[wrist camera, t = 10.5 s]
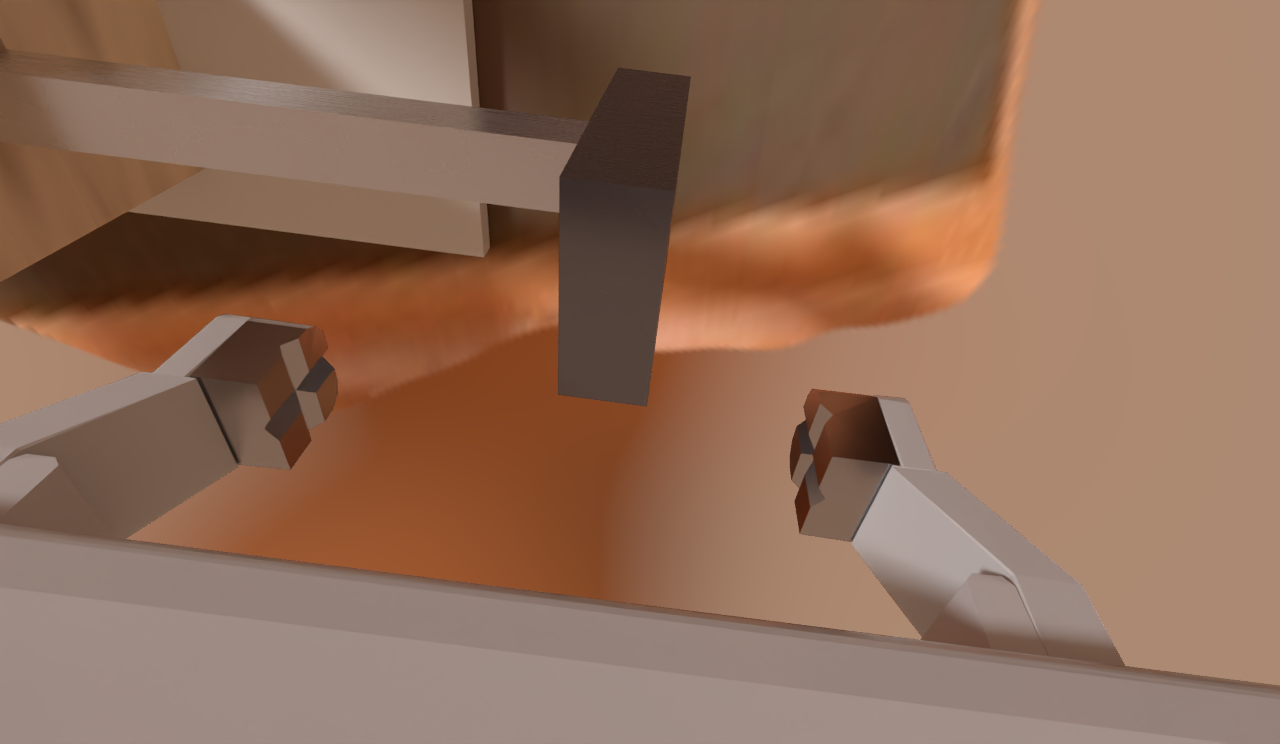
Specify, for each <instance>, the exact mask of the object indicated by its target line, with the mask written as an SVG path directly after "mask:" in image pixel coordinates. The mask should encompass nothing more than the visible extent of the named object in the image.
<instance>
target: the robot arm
mask: <svg viewBox="0 0 1280 744" xmlns="http://www.w3.org/2000/svg"><path fill="white" fill-rule="evenodd" d="M327 349H328V345H327V342H326V339H325V336H324V333H323V331H322V330H320V329H319V328H317V327H315V326H310V325H303V324H296V323H289V322H282V321H276V320H269V319H262V318H252V317H246V316H238V315H231V314H225V315H220V316H217V317H216V318H214V319H213V320H212V321H211V322H210V323H209V324H208V325H206V326H205V327H204V328H203V329H202V330H201V331H200V332H198V333H197V334H196V335H195V336H194V337H193V338H192V339H190V340H189V341H188V342H187V343H186V344H185V345H184V346H182V347H181V348H180V349H179V350H178V351H177V352H176V353H174V354H173V355H172V356H171V357H170V358H169V359H168V360H166V361H165V362H164V363H163V364H162V365H161V366H160V367H158V368H157V369H156V370H155V371H154V372H153V373H151V372H140V373H137V374H135V375H132V376H129V377H126V378H124V379H121V380H119V381H116V382H113V383H110V384H107V385H104V386H102V387H99V388H97V389H94V390H91V391H88V392H85V393H83V394H80V395H77V396H75V397H72V398H69V399H66V400H63V401H61V402H58V403H55V404H53V405H50V406H47V407H44V408H42V409H39V410H36V411H33V412H31V413H28V414H25V415H23V416H20V417H17V418H14V419H11V420H9V421H6V422H3V423H0V744H1280V685H1279V686H1278V685H1271V684H1263V683H1255V682H1248V681H1240V680H1231V679H1223V678H1215V677H1207V676H1199V675H1192V674H1184V673H1176V672H1168V671H1160V670H1151V669H1143V668H1135V667H1129V666H1125V664H1124V663H1123V661H1122V659H1121V657H1120V655H1119V653H1118V651H1117V649H1116V648H1115V646H1114V644H1113V642H1112V640H1111V638H1110V636H1109V635H1108V633H1107V631H1106V629H1105V627H1104V626H1103V624H1102V622H1101V620H1100V618H1099V616H1098V614H1097V612H1096V610H1095V608H1094V607H1093V605H1092V603H1091V601H1090V599H1089V597H1088V595H1087V594H1086V592H1085V590H1084V588H1083V586H1082V585H1081V584H1080V583H1079V582H1077V581H1076V580H1075V579H1074V578H1073V577H1072V576H1070V575H1069V574H1068V573H1067V572H1066V571H1064V570H1063V569H1062V568H1061V567H1060V566H1058V565H1057V564H1056V563H1055V562H1054V561H1052V560H1051V559H1050V558H1049V557H1048V556H1046V555H1045V554H1044V553H1043V552H1042V551H1040V550H1039V549H1038V548H1037V547H1036V546H1034V545H1033V544H1032V543H1031V542H1029V541H1028V540H1027V539H1026V538H1025V537H1023V536H1022V535H1021V534H1020V533H1019V532H1018V531H1016V530H1015V529H1014V528H1013V527H1012V526H1010V525H1009V524H1008V523H1007V522H1006V521H1004V520H1003V519H1002V518H1001V517H1000V516H998V515H997V514H996V513H995V512H993V511H992V510H991V509H990V508H989V507H987V506H986V505H985V504H984V503H983V502H981V501H980V500H979V499H978V498H977V497H975V496H974V495H973V494H972V493H971V492H969V491H968V490H967V489H966V488H965V487H963V486H962V485H961V484H960V483H959V482H957V481H956V480H955V479H954V478H953V477H951V476H950V475H949V474H948V473H947V472H941V471H937V470H936V468H935V465H934V463H933V460H932V458H931V455H930V453H929V450H928V448H927V445H926V443H925V440H924V438H923V436H922V433H921V431H920V428H919V426H918V423H917V421H916V419H915V416H914V414H913V411H912V409H911V406H910V404H909V402H908V401H907V400H906V399H905V398H898V397H888V396H879V395H873V396H870V395H861V394H853V393H845V392H837V391H827V390H820V389H812V390H811V391H810V393H809V394H808V396H807V399H806V401H805V405H804V412H805V417H806V420H805V421H804V422H802V423H801V424H799V425H798V426H797V427H796V430H795V433H794V436H793V439H792V445H791V452H790V472H791V480H792V481H793V482H794V483H795V484H796V485H797V487H798V488H799V491H798V494H797V496H796V499H795V507H796V514H797V520H798V526H799V533H800V534H804V535H810V536H816V537H823V538H829V539H836V540H843V541H849V542H852V543H851V545H852V546H853V547H854V549H855V550H856V551H857V553H858V554H859V555H860V557H861V558H862V559H863V560H864V562H865V563H866V564H867V566H868V567H869V568H870V570H872V572H873V574H874V575H875V576H876V578H877V579H878V580H879V581H880V583H881V584H882V585H883V587H884V588H885V589H886V591H887V592H888V593H889V595H890V596H891V597H892V598H893V600H894V601H895V602H896V604H897V605H898V606H899V608H900V609H901V610H902V611H903V613H904V614H905V616H906V617H907V618H908V619H909V621H910V622H911V623H912V625H913V626H914V627H915V629H916V630H917V631H918V633H919V634H920V635H921V637H922V638H921V639H920V640H916V639H908V638H901V637H892V636H884V635H877V634H869V633H862V632H854V631H845V630H837V629H830V628H822V627H814V626H806V625H799V624H791V623H783V622H774V621H767V620H759V619H752V618H744V617H736V616H727V615H720V614H712V613H704V612H696V611H688V610H680V609H672V608H664V607H657V606H648V605H641V604H633V603H625V602H617V601H609V600H601V599H593V598H585V597H577V596H569V595H562V594H553V593H545V592H538V591H530V590H522V589H514V588H506V587H499V586H490V585H483V584H475V583H467V582H459V581H451V580H443V579H435V578H427V577H420V576H412V575H404V574H396V573H388V572H380V571H373V570H365V569H357V568H349V567H341V566H333V565H326V564H317V563H310V562H301V561H294V560H286V559H278V558H270V557H263V556H255V555H247V554H239V553H231V552H222V551H214V550H207V549H199V548H192V547H184V546H175V545H167V544H160V543H152V542H144V541H136V540H128V539H126V538H128V537H129V536H131V535H132V534H134V533H136V532H137V531H139V530H140V529H142V528H143V527H145V526H146V525H148V524H150V523H151V522H153V521H154V520H156V519H158V518H159V517H161V516H162V515H164V514H165V513H167V512H168V511H170V510H172V509H173V508H175V507H176V506H178V505H179V504H181V503H183V502H184V501H186V500H187V499H189V498H191V497H192V496H194V495H195V494H197V493H198V492H200V491H201V490H203V489H205V488H206V487H208V486H209V485H211V484H213V483H214V482H216V481H217V480H219V479H220V478H222V477H224V476H225V475H227V474H228V473H230V472H231V471H233V470H235V469H236V468H237V467H238V465H247V466H257V467H267V468H277V469H288V470H291V468H292V467H293V466H294V464H295V463H296V461H297V460H298V458H299V457H300V456H301V454H302V453H303V452H304V450H305V449H306V447H307V446H308V445H309V443H310V442H311V437H310V432H309V429H311V428H313V427H315V426H317V425H319V424H321V423H323V422H325V420H326V419H327V417H328V416H329V414H330V413H331V411H332V410H333V407H334V404H335V401H336V397H337V394H338V385H337V377H336V373H335V369H334V368H333V367H332V366H331V365H330V364H329V363H328V362H327V361H326V360H325V359H324V358H323V357H322V356H323V355H324V353H325V352H326V350H327Z"/></svg>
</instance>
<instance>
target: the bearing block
mask: <svg viewBox="0 0 1280 744" xmlns="http://www.w3.org/2000/svg"><path fill="white" fill-rule="evenodd" d="M0 48H1V49H9V50H17V51H25V52H33V53H41V54H50V55H58V56H66V57H74V58H82V59H90V60H98V61H106V62H114V63H123V64H131V65H139V66H147V67H155V68H163V69H171V70H179V71H181V69H180V66H179V63H178V60H177V57H176V54H175V52H174V49H173V46H172V43H171V40H170V37H169V35H168V32H167V29H166V26H165V23H164V20H163V18H162V15H161V12H160V9H159V6H158V3H157V1H156V0H0ZM203 169H205V168H203V167H195V166H187V165H179V164H171V163H163V162H155V161H147V160H139V159H132V158H124V157H116V156H108V155H100V154H92V153H84V152H76V151H68V150H61V149H53V148H45V147H37V146H29V145H21V144H13V143H5V142H0V282H2V281H3V280H5V279H7V278H9V277H11V276H12V275H14V274H16V273H18V272H20V271H21V270H23V269H25V268H27V267H29V266H30V265H32V264H34V263H36V262H38V261H39V260H41V259H43V258H45V257H47V256H48V255H50V254H52V253H54V252H56V251H57V250H59V249H61V248H63V247H65V246H66V245H68V244H70V243H72V242H74V241H75V240H77V239H79V238H81V237H83V236H84V235H86V234H88V233H90V232H92V231H93V230H95V229H97V228H99V227H101V226H102V225H104V224H106V223H108V222H110V221H111V220H113V219H115V218H117V217H119V216H120V215H122V214H124V213H126V212H128V211H129V210H131V209H133V208H135V207H137V206H138V205H140V204H142V203H144V202H146V201H147V200H149V199H151V198H153V197H155V196H156V195H158V194H160V193H162V192H164V191H165V190H167V189H169V188H171V187H173V186H174V185H176V184H178V183H180V182H182V181H183V180H185V179H187V178H189V177H191V176H192V175H194V174H196V173H198V172H200V171H201V170H203Z"/></svg>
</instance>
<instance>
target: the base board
mask: <svg viewBox="0 0 1280 744" xmlns="http://www.w3.org/2000/svg"><path fill="white" fill-rule="evenodd" d="M156 1H157V3H158V6H159V9H160V12H161V15H162V18H163V20H164V23H165V26H166V29H167V32H168V35H169V37H170V40H171V43H172V46H173V49H174V52H175V54H176V57H177V60H178V63H179V66H180V69H181V71H187V72H196V73H204V74H212V75H220V76H228V77H236V78H244V79H252V80H260V81H269V82H277V83H285V84H293V85H301V86H309V87H317V88H325V89H333V90H342V91H350V92H358V93H366V94H374V95H382V96H390V97H398V98H406V99H415V100H423V101H431V102H439V103H447V104H455V105H463V106H471V107H479V108H480V103H479V89H478V75H477V62H476V48H475V34H474V20H473V7H472V0H156ZM128 212H134V213H142V214H150V215H158V216H165V217H173V218H181V219H189V220H197V221H204V222H212V223H220V224H228V225H235V226H243V227H251V228H259V229H267V230H274V231H282V232H290V233H298V234H305V235H313V236H321V237H329V238H336V239H344V240H352V241H360V242H368V243H375V244H383V245H391V246H399V247H406V248H414V249H422V250H430V251H438V252H445V253H453V254H461V255H469V256H476V257H485V255H486V253H487V252H488V250H489V249H490V240H489V226H488V213H487V203H479V202H471V201H463V200H455V199H447V198H439V197H432V196H424V195H416V194H408V193H400V192H392V191H384V190H376V189H368V188H361V187H353V186H345V185H337V184H329V183H321V182H313V181H305V180H297V179H289V178H282V177H274V176H266V175H258V174H250V173H242V172H234V171H226V170H218V169H211V168H205V169H203V170H201V171H200V172H198V173H196V174H194V175H192V176H191V177H189V178H187V179H185V180H183V181H182V182H180V183H178V184H176V185H174V186H173V187H171V188H169V189H167V190H165V191H164V192H162V193H160V194H158V195H156V196H155V197H153V198H151V199H149V200H147V201H146V202H144V203H142V204H140V205H138V206H137V207H135V208H133V209H131V210H129V211H128Z"/></svg>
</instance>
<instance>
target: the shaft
mask: <svg viewBox="0 0 1280 744" xmlns="http://www.w3.org/2000/svg"><path fill="white" fill-rule="evenodd" d="M690 79H691V77H689V76H681V75H673V74H665V73H656V72H648V71H640V70H632V69H623V68H618V69H617V71H616V73H615V75H614V77H613V78H612V80H611V82H610V84H609V86H608V88H607V90H606V91H605V93H604V95H603V97H602V99H601V101H600V103H599V104H598V106H597V108H596V110H595V112H594V114H593V115H592V117H591V119H590V121H585V120H577V119H569V118H561V117H552V116H544V115H536V114H528V113H520V112H512V111H504V110H496V109H488V108H479V107H471V106H463V105H455V104H447V103H439V102H431V101H423V100H415V99H406V98H398V97H390V96H382V95H374V94H366V93H358V92H350V91H342V90H333V89H325V88H317V87H309V86H301V85H293V84H285V83H277V82H269V81H260V80H252V79H244V78H236V77H228V76H220V75H212V74H204V73H196V72H187V71H179V70H171V69H163V68H155V67H147V66H139V65H131V64H123V63H114V62H106V61H98V60H90V59H82V58H74V57H66V56H58V55H50V54H41V53H33V52H25V51H17V50H9V49H1V48H0V142H5V143H13V144H21V145H29V146H37V147H45V148H53V149H61V150H68V151H76V152H84V153H92V154H100V155H108V156H116V157H124V158H132V159H139V160H147V161H155V162H163V163H171V164H179V165H187V166H195V167H203V168H211V169H218V170H226V171H234V172H242V173H250V174H258V175H266V176H274V177H282V178H289V179H297V180H305V181H313V182H321V183H329V184H337V185H345V186H353V187H361V188H368V189H376V190H384V191H392V192H400V193H408V194H416V195H424V196H432V197H439V198H447V199H455V200H463V201H471V202H479V203H487V204H495V205H503V206H511V207H518V208H526V209H534V210H542V211H550V212H558V213H559V335H558V336H559V340H558V348H559V349H558V351H559V352H558V395H565V396H572V397H580V398H587V399H595V400H602V401H610V402H617V403H625V404H632V405H640V406H647V402H648V395H649V388H650V380H651V373H652V365H653V358H654V351H655V343H656V336H657V328H658V321H659V314H660V306H661V299H662V292H663V284H664V277H665V269H666V262H667V255H668V247H669V240H670V232H671V224H672V217H673V209H674V201H675V194H676V186H677V178H678V171H679V163H680V155H681V148H682V140H683V132H684V125H685V117H686V110H687V102H688V94H689V87H690Z"/></svg>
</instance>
